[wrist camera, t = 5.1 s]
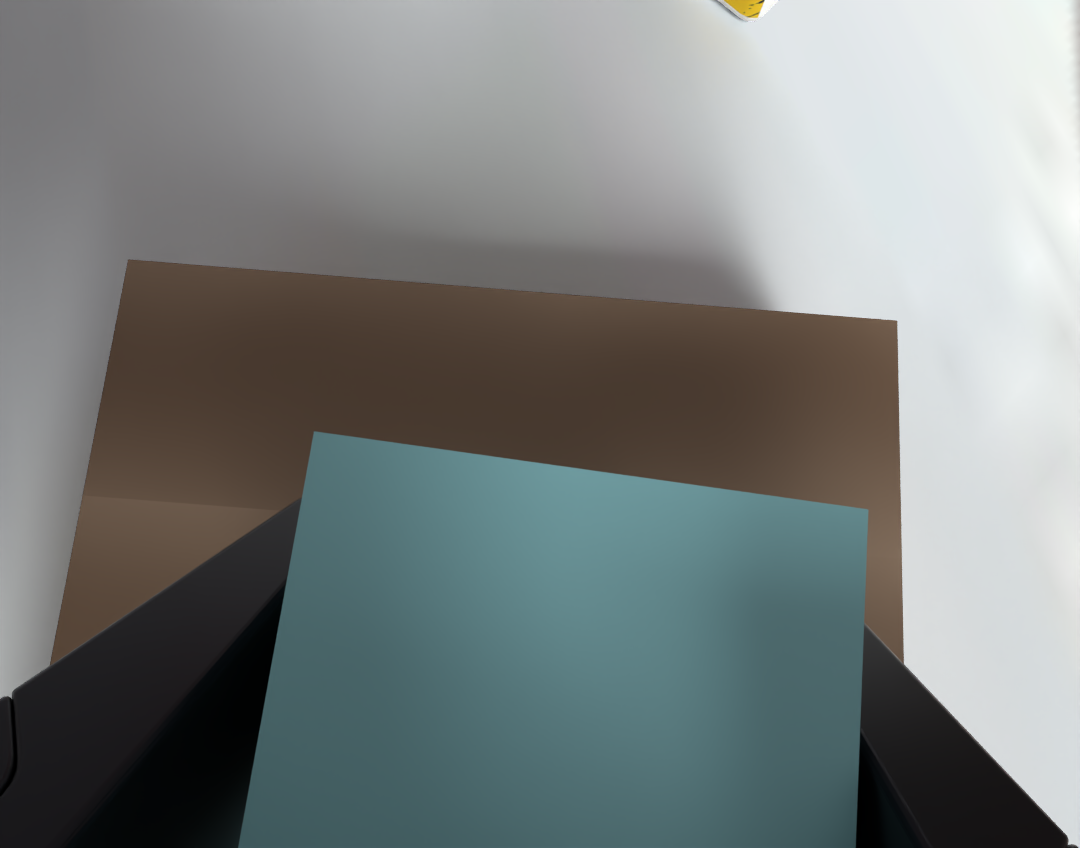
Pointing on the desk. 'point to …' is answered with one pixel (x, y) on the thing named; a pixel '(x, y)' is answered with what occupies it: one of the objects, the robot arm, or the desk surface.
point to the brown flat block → (460, 409)
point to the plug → (558, 661)
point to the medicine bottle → (749, 8)
